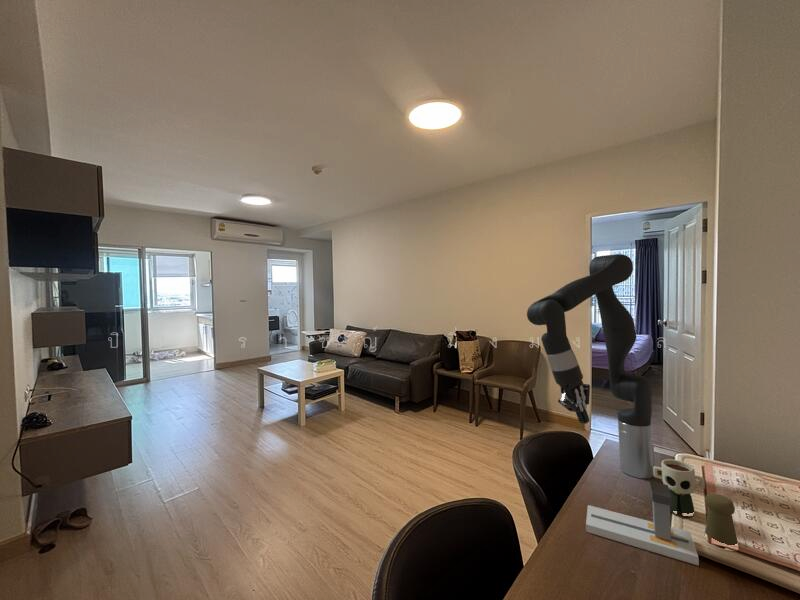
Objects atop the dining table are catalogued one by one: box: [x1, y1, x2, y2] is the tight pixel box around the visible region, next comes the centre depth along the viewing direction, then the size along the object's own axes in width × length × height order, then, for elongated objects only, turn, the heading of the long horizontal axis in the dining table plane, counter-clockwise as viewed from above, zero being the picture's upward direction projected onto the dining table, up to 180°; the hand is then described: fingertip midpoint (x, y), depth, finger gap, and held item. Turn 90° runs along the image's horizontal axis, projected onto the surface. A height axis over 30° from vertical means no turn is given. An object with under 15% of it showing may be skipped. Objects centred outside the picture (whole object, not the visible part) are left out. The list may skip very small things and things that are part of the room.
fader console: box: [585, 504, 700, 567], centre depth 83 cm, size 22×9×2 cm, turn 57°
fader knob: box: [649, 480, 672, 541], centre depth 80 cm, size 4×6×11 cm, turn 147°
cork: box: [704, 493, 739, 545], centre depth 80 cm, size 6×6×11 cm
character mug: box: [653, 458, 706, 514], centre depth 91 cm, size 11×7×13 cm, turn 49°
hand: (585, 422), depth 95 cm, fingers closed
